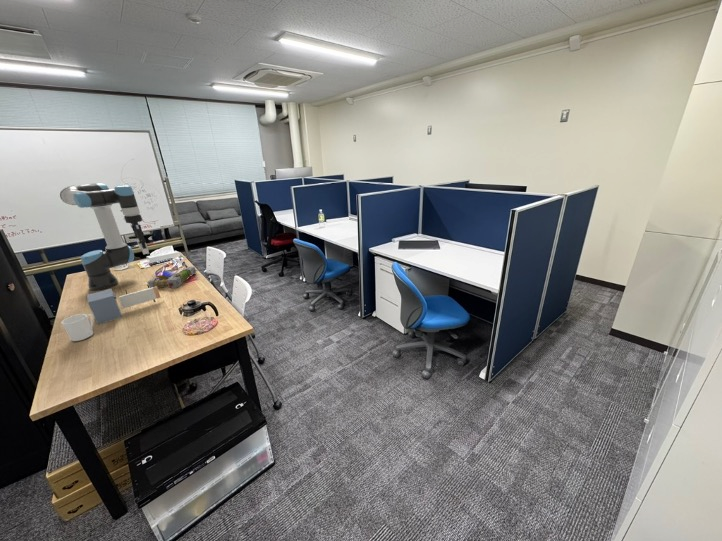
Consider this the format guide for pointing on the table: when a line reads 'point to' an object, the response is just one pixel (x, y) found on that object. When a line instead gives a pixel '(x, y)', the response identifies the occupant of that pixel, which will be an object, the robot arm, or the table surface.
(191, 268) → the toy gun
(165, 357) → the table surface
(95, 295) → the block
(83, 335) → the mug
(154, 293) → the slim white post
